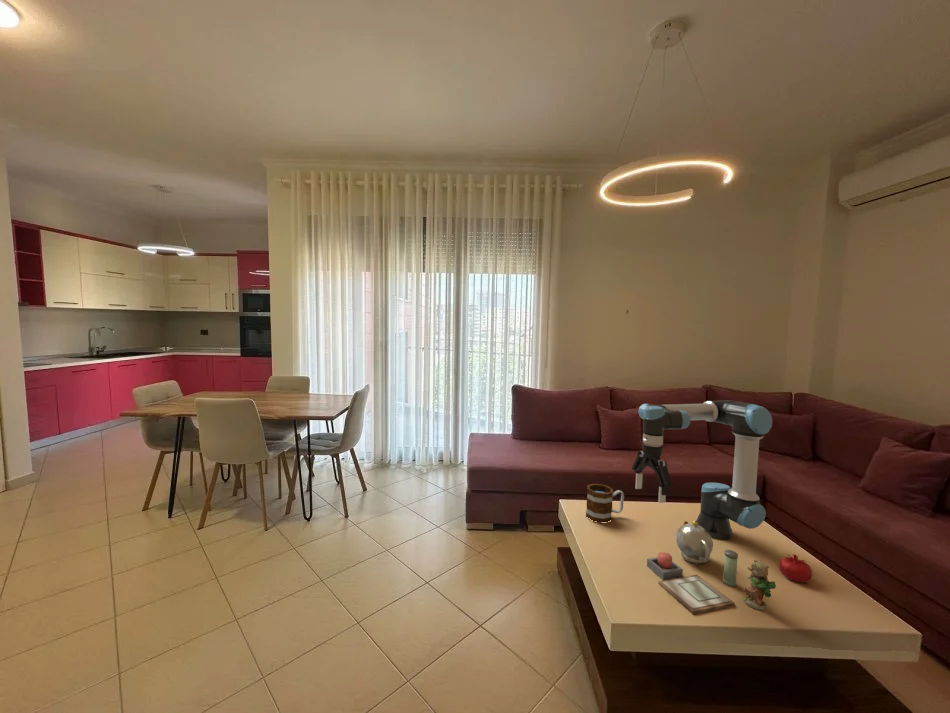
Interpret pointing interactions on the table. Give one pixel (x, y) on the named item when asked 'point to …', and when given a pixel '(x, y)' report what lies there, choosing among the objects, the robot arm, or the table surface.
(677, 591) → the picture board
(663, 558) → the button
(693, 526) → the teapot
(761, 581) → the figurine
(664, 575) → the button housing
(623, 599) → the table surface
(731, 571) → the cylinder
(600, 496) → the mug
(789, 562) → the pomegranate
